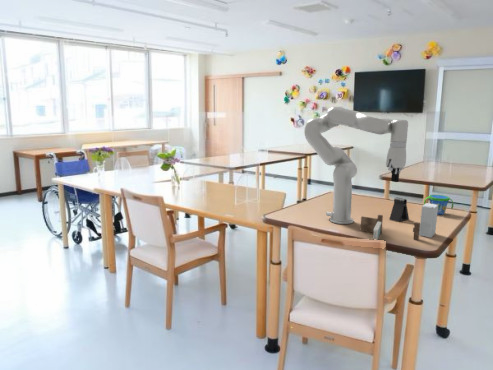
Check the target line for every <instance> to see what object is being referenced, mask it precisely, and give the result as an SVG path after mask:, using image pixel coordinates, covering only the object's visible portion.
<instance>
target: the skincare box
mask: <svg viewBox="0 0 493 370" xmlns="http://www.w3.org/2000/svg"><path fill="white" fill-rule="evenodd" d="M437 212H438V205H436V204H430V202H425V204H424V203H423V205H422V206H421V215H420V221H419V223H420V231H419V237H420V236H421V237H425V238H430V239H431V238H433V236H435V234H436V229H437V221H438V220H437V218H438V215H437Z"/></svg>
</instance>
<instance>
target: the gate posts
mask: <svg viewBox="0 0 493 370" xmlns="http://www.w3.org/2000/svg"><path fill="white" fill-rule="evenodd" d="M383 218H384V217H383V215H382V214H378V215H377V218H375V217H368V216H361V217H360V231H361V232H368V233H373V234H374V227H375V226H376V224H377V222H378V221H379V222H381V227H380V235H382V234H383ZM419 231H420V222H418V221H417V222H416V221H415V222H414V227H412V233H413V239H414V240H413V241H419V240H420V235H419ZM381 233H382V234H381ZM418 239H419V240H418Z"/></svg>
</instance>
